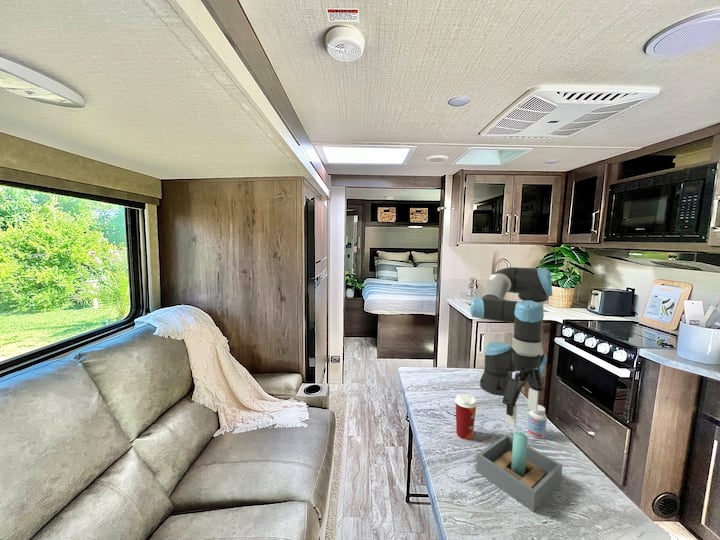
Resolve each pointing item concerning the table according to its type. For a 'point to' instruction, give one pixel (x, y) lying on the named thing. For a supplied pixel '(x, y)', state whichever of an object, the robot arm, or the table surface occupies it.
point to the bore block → (531, 471)
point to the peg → (519, 454)
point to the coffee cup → (465, 415)
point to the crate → (511, 483)
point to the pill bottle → (537, 422)
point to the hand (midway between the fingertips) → (521, 416)
